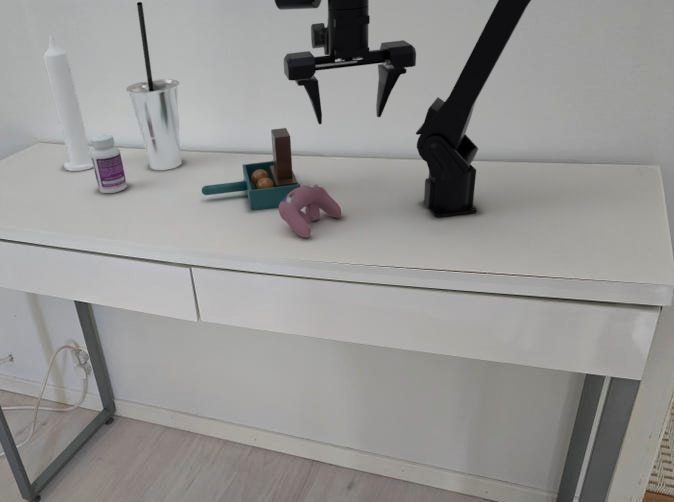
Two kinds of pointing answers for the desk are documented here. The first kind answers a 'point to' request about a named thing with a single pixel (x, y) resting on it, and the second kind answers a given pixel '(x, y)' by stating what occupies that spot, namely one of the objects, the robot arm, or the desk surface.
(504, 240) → the desk surface
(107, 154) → the pill bottle
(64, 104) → the candle
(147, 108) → the tumbler with straw
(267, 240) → the desk surface
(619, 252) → the desk surface
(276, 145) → the brown thick angular block
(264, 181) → the ball near
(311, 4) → the robot arm
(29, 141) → the desk surface
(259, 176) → the ball far
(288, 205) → the video game controller
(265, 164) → the dustpan
